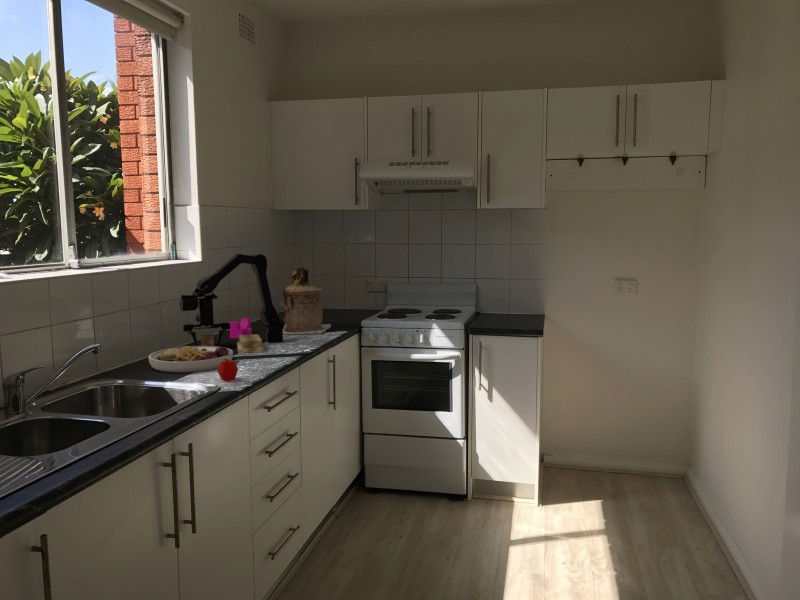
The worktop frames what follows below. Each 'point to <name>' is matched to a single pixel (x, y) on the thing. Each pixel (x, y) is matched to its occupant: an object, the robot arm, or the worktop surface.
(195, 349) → the bowl
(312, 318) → the cookie jar
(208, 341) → the walnut block
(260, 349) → the beech slab
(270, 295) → the robot arm
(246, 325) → the toy block
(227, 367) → the apple
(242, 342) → the oak slab
